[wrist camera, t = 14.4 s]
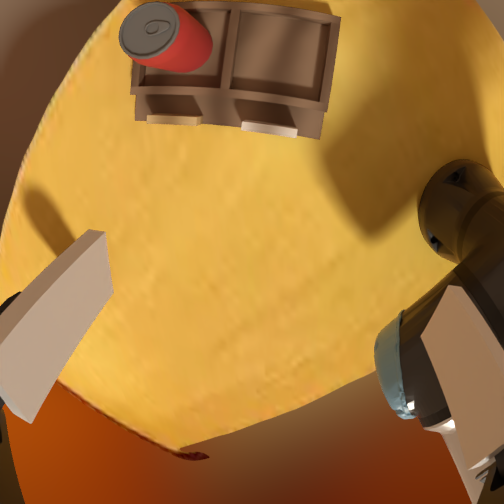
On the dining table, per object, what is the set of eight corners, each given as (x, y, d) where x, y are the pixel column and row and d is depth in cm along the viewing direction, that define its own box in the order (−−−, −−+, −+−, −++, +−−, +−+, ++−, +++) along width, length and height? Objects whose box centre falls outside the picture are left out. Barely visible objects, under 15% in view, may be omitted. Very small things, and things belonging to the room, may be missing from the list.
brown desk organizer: (336, 22, 26) (343, 14, 23) (318, 138, 34) (323, 143, 31) (150, 10, 27) (137, 3, 23) (138, 119, 34) (124, 123, 31)
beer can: (214, 70, 30) (185, 58, 19) (161, 76, 30) (113, 71, 20) (213, 21, 27) (185, -11, 16) (160, 28, 27) (113, 6, 17)
